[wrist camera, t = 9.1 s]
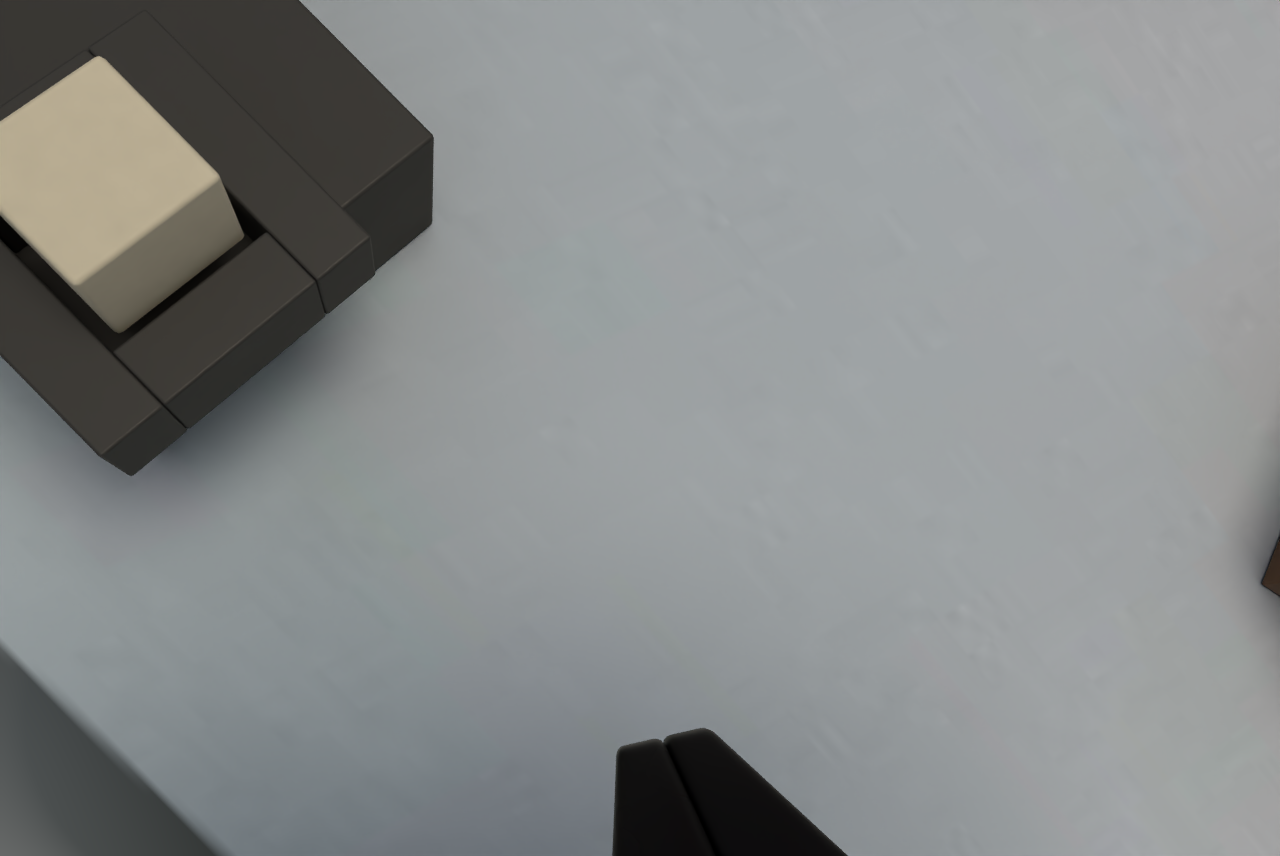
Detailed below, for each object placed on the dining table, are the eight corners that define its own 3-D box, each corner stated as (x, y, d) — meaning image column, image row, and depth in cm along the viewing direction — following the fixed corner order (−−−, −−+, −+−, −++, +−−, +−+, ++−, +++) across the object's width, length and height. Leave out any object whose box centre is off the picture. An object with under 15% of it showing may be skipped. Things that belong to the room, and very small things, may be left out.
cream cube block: (248, 238, 18) (221, 175, 15) (119, 337, 17) (73, 286, 15) (139, 128, 18) (98, 51, 15) (7, 223, 17) (-57, 155, 15)
